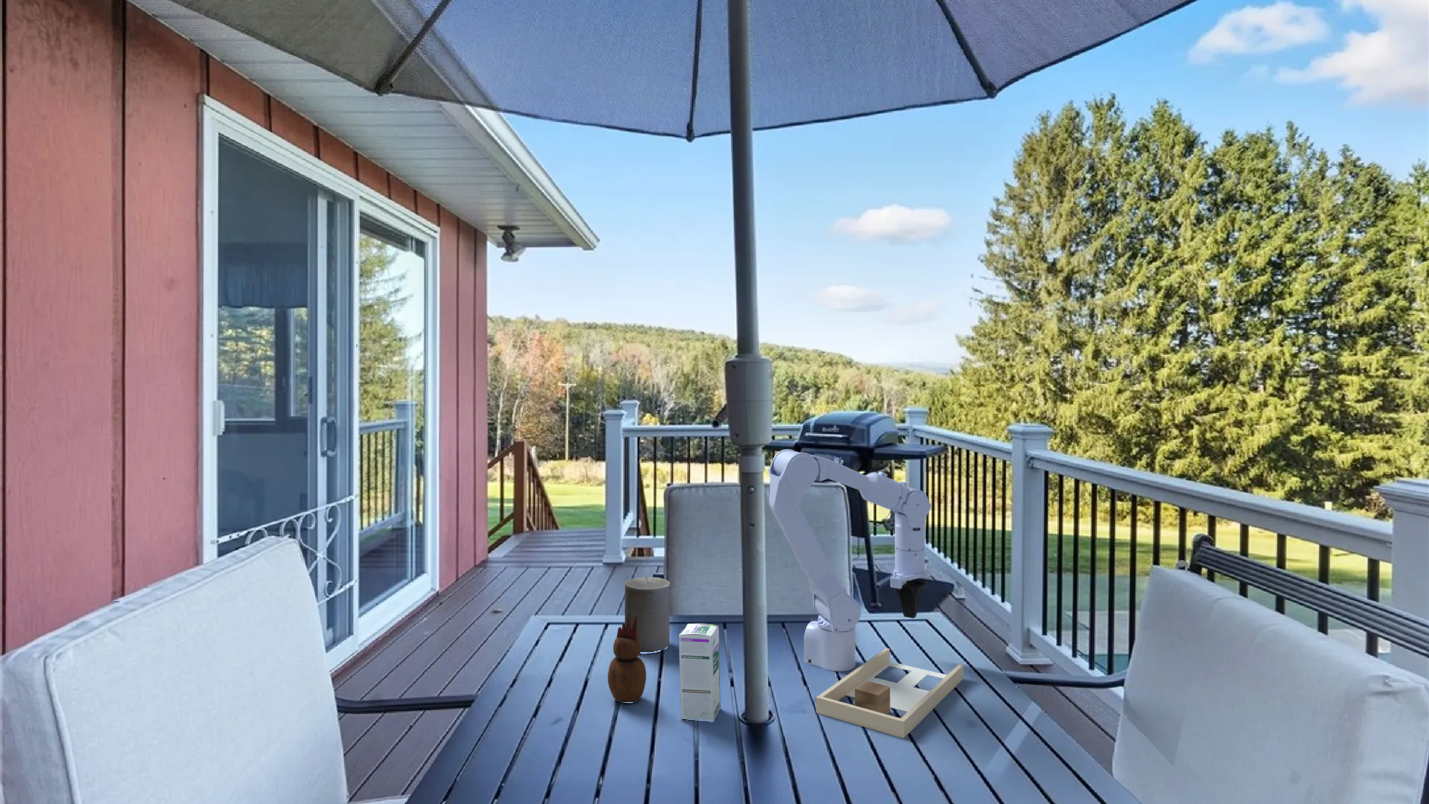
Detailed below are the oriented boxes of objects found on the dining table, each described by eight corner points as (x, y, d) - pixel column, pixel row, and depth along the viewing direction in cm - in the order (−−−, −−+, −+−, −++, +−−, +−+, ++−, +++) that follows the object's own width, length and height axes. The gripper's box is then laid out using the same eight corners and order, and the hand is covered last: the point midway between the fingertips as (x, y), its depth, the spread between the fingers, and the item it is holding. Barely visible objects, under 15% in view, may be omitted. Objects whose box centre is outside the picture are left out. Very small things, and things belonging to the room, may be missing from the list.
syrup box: (714, 723, 119) (713, 635, 119) (679, 720, 120) (678, 633, 120) (720, 708, 124) (720, 624, 124) (687, 705, 126) (686, 622, 125)
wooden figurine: (652, 700, 128) (651, 615, 128) (627, 710, 124) (626, 623, 124) (627, 689, 133) (626, 607, 132) (602, 699, 128) (601, 615, 128)
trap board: (816, 721, 119) (816, 697, 119) (885, 668, 142) (885, 648, 142) (903, 747, 110) (903, 721, 110) (963, 686, 133) (963, 665, 133)
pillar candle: (616, 652, 152) (616, 580, 151) (635, 636, 161) (635, 569, 161) (660, 657, 149) (660, 584, 148) (676, 641, 158) (676, 572, 158)
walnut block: (854, 714, 119) (854, 688, 119) (867, 705, 122) (866, 680, 122) (878, 721, 116) (878, 695, 116) (890, 712, 119) (890, 687, 119)
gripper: (915, 557, 135) (915, 630, 136) (942, 544, 147) (942, 611, 147) (880, 553, 140) (880, 623, 140) (908, 540, 151) (909, 605, 151)
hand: (909, 616), depth 144 cm, fingers closed
